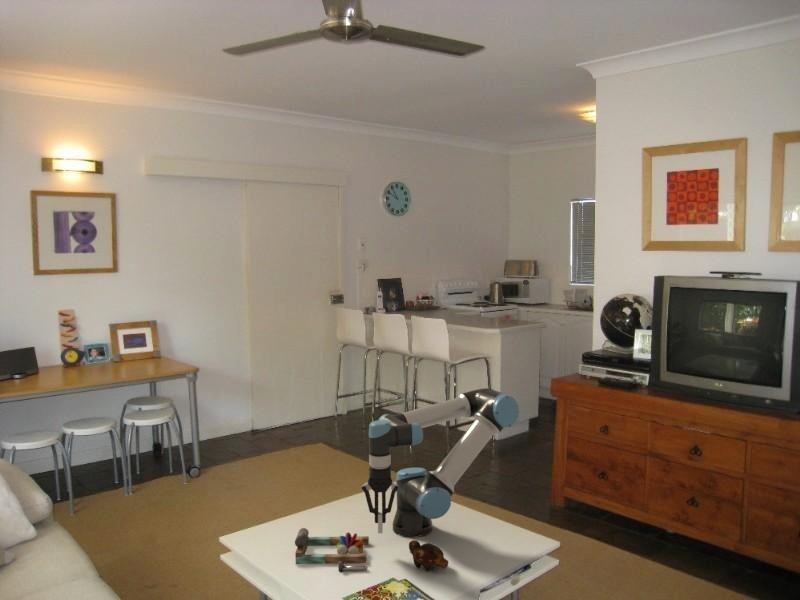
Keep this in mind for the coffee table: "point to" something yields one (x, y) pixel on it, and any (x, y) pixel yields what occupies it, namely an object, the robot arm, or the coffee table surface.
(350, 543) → the rainbow sensory ball
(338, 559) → the bay
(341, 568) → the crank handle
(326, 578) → the coffee table surface
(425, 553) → the decorative turtle
